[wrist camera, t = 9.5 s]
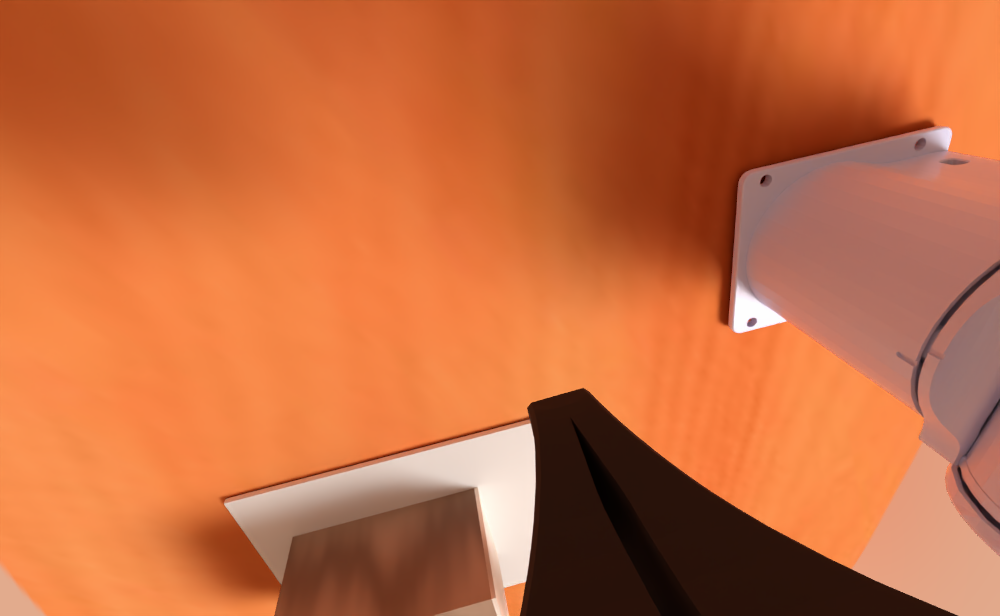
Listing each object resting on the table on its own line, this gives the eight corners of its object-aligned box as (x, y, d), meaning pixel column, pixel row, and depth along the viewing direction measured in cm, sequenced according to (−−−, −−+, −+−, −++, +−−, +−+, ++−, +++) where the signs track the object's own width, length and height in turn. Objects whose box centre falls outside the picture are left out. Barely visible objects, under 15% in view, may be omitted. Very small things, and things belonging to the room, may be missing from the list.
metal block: (496, 597, 21) (263, 663, 20) (518, 665, 24) (315, 724, 23) (477, 487, 26) (292, 536, 25) (497, 554, 29) (332, 599, 28)
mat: (595, 402, 25) (597, 405, 25) (610, 552, 31) (612, 557, 31) (225, 498, 24) (223, 503, 23) (320, 634, 30) (320, 640, 30)
